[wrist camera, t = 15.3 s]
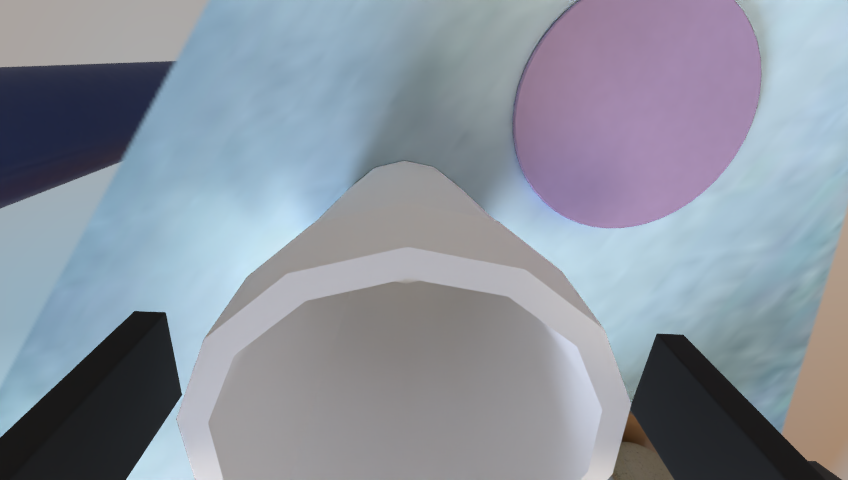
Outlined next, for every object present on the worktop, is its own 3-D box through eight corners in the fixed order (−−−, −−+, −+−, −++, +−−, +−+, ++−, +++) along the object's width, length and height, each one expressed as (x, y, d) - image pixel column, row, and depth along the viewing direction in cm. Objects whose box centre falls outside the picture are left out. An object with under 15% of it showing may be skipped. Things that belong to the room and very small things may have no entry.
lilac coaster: (496, 219, 21) (497, 222, 21) (536, -41, 17) (539, -43, 16) (705, 231, 22) (710, 234, 21) (796, -14, 17) (805, -16, 17)
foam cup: (538, 210, 21) (717, 415, 9) (421, 333, 24) (441, 616, 12) (384, 82, 18) (351, 137, 6) (271, 237, 21) (100, 481, 9)
